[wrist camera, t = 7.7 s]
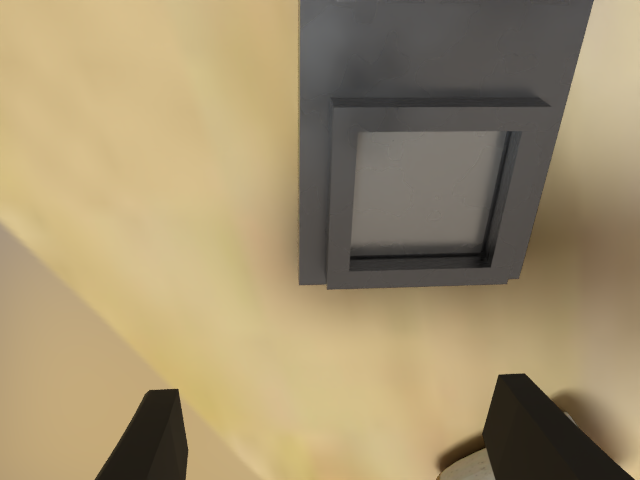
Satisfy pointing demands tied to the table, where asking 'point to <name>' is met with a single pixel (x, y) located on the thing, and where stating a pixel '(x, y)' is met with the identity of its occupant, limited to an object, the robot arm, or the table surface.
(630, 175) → the table surface
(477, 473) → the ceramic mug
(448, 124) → the panel
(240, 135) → the table surface
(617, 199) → the table surface
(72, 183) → the table surface
